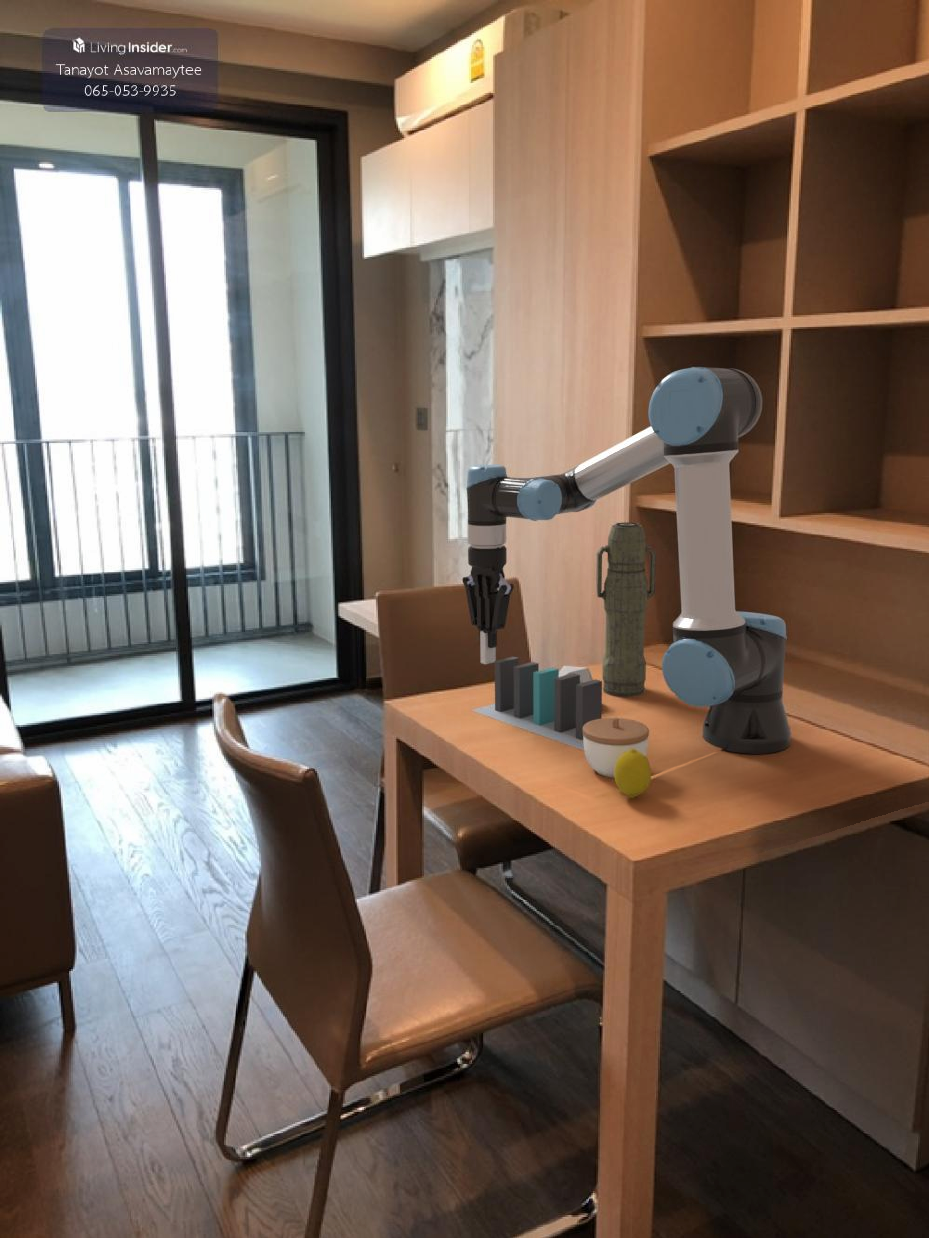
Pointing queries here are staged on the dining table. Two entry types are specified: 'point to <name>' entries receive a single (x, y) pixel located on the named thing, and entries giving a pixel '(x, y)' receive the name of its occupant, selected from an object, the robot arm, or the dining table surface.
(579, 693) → the domino
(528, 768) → the dining table surface
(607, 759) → the lidded jar
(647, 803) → the dining table surface
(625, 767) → the lemon
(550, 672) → the teal domino
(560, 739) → the mat
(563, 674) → the die
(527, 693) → the domino
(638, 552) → the thermos
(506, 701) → the domino
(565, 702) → the domino
